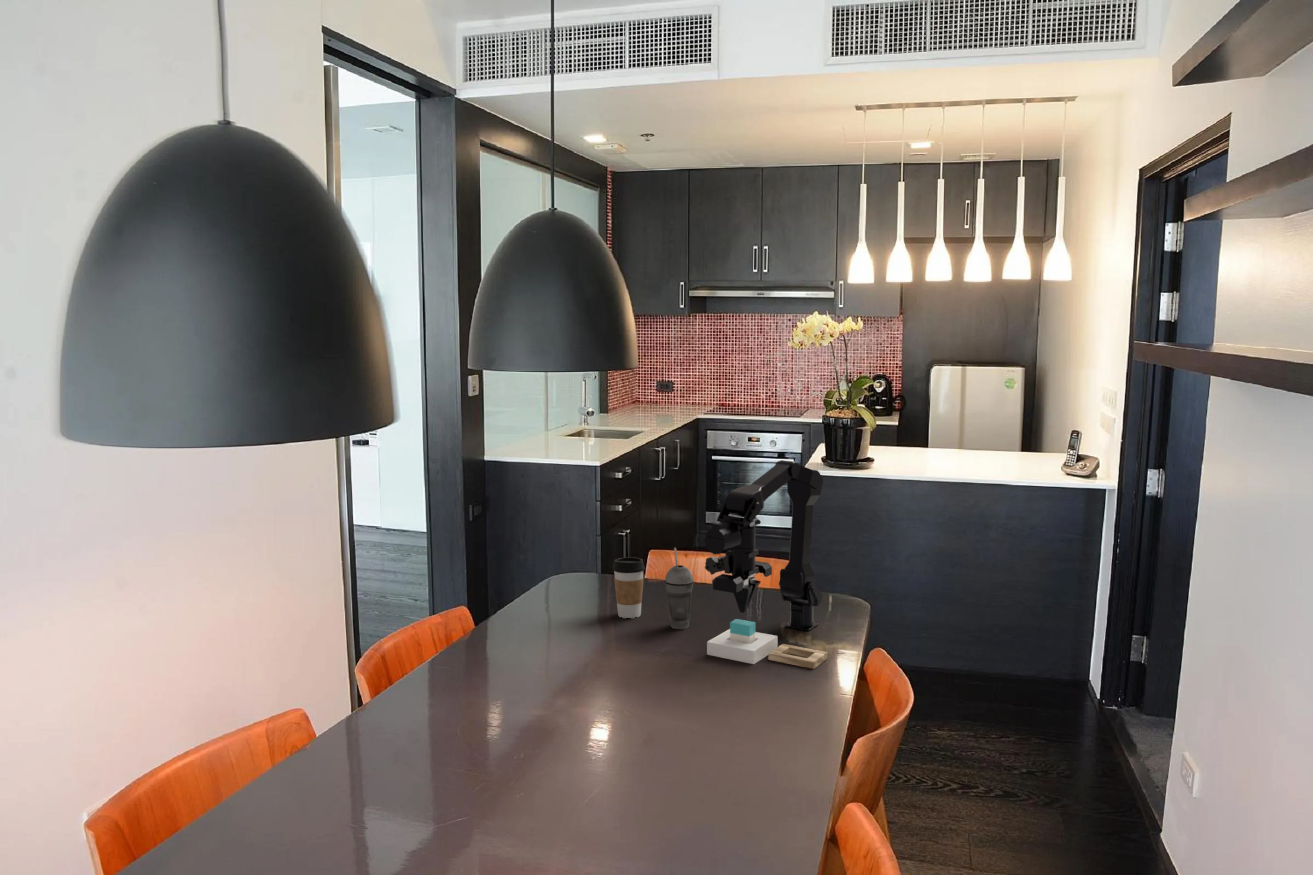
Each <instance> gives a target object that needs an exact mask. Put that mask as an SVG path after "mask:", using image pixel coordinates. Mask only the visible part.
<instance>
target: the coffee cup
mask: <svg viewBox="0 0 1313 875" xmlns="http://www.w3.org/2000/svg"><path fill="white" fill-rule="evenodd" d="M645 570H646V568H645V564H644V560H643V559H642V558H640V557H633V556H626V557H619V558H615V559H614V562H613V566H612V571H613V572H614V578H613V581H614V590H615V598H616V606H617V615H618V617H619V618H621V617H622V618H621V619H626V618H631V619H636V618H635V617H637V618H639V617H640V616H642V615H641V614H642V602H643V601H642V600H643V593H644V592H643V590H644V581H645V580H644V579H645V578H644V571H645Z"/></svg>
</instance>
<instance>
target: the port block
mask: <svg viewBox="0 0 1313 875" xmlns="http://www.w3.org/2000/svg"><path fill="white" fill-rule="evenodd" d="M778 639H779V638H778V635H773V634H769V633H763V632H757V631H755V642H753V643H752V644H747V643H742V642H737V641H732V640H730V628H729V629H727V630H726V631H723V632H722V633H720V634H718V635H717V636H715V637H713V638H711V639H709V640H708V641H707V642H706V655H708V656H712V657H718V658H722V659H728V660H731V661H737V662H742V663H745V664H750V665H755V664H756V663H758V662H760V661H761V660H763V659H764V658H765V657H767V656H769V653H770V652H771V651H773V650H774V649H776V648H777V647H778V643H779V642H778Z"/></svg>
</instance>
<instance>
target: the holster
mask: <svg viewBox="0 0 1313 875" xmlns="http://www.w3.org/2000/svg"><path fill="white" fill-rule="evenodd" d="M827 659H828V652H827V651H822V650H816V649H811V648H805V647H803V646H802V647H801V646H796V645H792V644H785V643H782V644H781V645H779V646H777V648H776V649H774V650H773V651H771V652H770V653H769V655H768V660H769V661H773V662H777V663H782V664H788V665H794V666H798V667H803V668H808V669H812V670H813V669H814V670H815V669H816V668H818V666H820V665H821V664H823V663H824V662H825V661H826V660H827Z"/></svg>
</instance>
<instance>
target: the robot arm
mask: <svg viewBox="0 0 1313 875" xmlns="http://www.w3.org/2000/svg"><path fill="white" fill-rule="evenodd" d="M823 483H824V479H823V476H822V475H821V473H820V471H819V470H817V469H811V468H808V467H806V466H803V465H801V464H800V463H798V462H796V461H795V460H794V461H793V460H785V459H784V460H783V459H782V460H781V459H780V460H777V461H776V463H775V464H774V466H773V467H771V468H770V469H769V470H767V471H766V472H764V473H763V474H762V475H761V476H760V477H759V478H757V479H756V480H754V481H752V483H750V484H748V485H743V486H740V487H737V488H735V489H733V490H730V491H729V492H728V494H727V495H726V498H725V500H724V502H723V504H722V506H721V509H720V512H719V514H718V516H717V519H716V521H717V522H713V523H712V524H711V528H710V529H709V530H708V531H706V534H705V537H704V543H705V544H704V545H705V547H706V549H707V550H708V552H709V553H711V554H713V556H709V557H707V558H705V566H704V569H705V570H706V571H707V572H709V573H710V575H715V574H716V573H720V572H724V573H722V574H718V575H717V576H715V577H714V578H713V579H711V588H712V590H715V591H719V592H726V593H733V596H734V598H735V602H736V605H737V607H738V610H739V613H741V614H745V613H746V612H747V610H748V608H749V606H750V603H751V601H752V599H753V598H754V595H755V593H756V591H757V590H758V588H759V585H760V584H761V580H758V579H756V577H755V575H757V574H762V575H763V576H764V577H766V578H768V577H770V576H771V575H773V566H772V565H771V564H770V562H767V561H759V560H756V556H757V555H759V554H760V553H759V552H760V551H759V549H758V548H757V549H756V526H757V525H761V520H760V519H759V518H758V517H757V516H758V515H759V514H760V513H761V511H762V510H763V509H764V508H765V507H764V506H765V501H767V499H768V498H769V497H771V496H773V494H775V492H777V491H778V490H780V488H782V487H783V486H784V485H786V486H787V487H786V491H787V492H786V493H787V494H788V495H787V496H788V497H789V499H790V501H791V503H792V510H791V511H792V514H791V527H790V529H791V530H790V539H789V540H790V541H789V542H790V544H789V559H788V562H787V564H786V565H785V567H784V568H781V569H780V571H779V582H778V586H779V591H780V593H781V597H782V598H781V599H782V601H784V602H789V603H790V606H789V608H790V609H789V611H790V612H789V616H790V617H789V618H790V619H789V620H790V621H788V622H787V623H786V624H784V627H785V628H790V629H795V630H800V631H804V632H805V631H806V632H808V631H810V630H812V629H814V628H815V627H817V626H819V622H818V621H814V607H819V605H820V604H822V599H823V594H822V592H821V591H820V589H819V588H818V587H817V585H816V574H815V573H814V570H813V568H812V566H811V564H810V558H811V541H812V527H813V526H812V525H813V515H814V514H813V513H814V506H815V505H814V504H816V502H817V501H818V499H819V498H820V497H821V493H822V487H823ZM722 553H723V554H724V553H725V554H724V555H721V556H718V557H716V556H715V555H720V554H722Z"/></svg>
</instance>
